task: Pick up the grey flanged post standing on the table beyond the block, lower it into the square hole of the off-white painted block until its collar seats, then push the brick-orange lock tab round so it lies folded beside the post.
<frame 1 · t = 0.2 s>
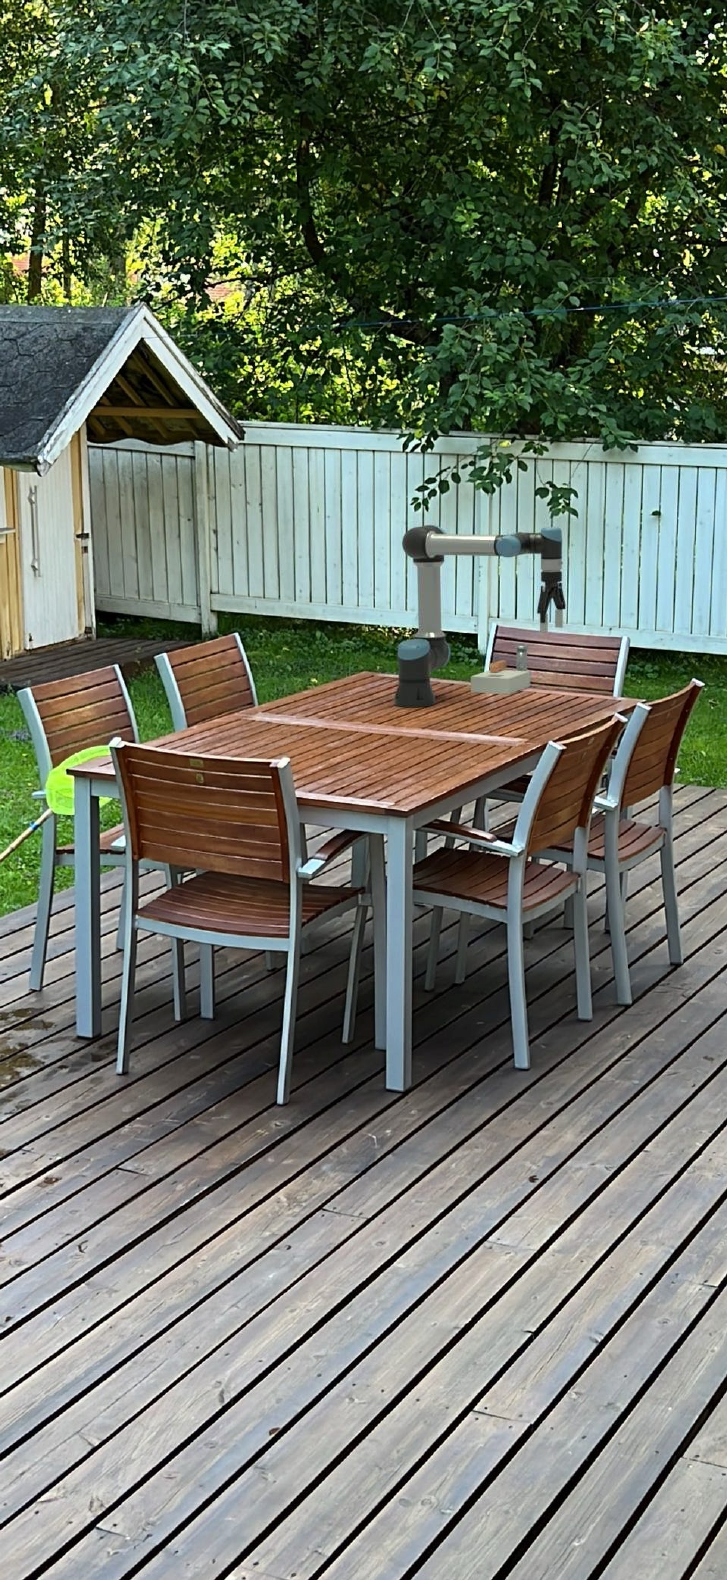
hand: (551, 629, 648), 28 cm above the table, fingers open, 13 cm apart
grey flanged post: (521, 683, 707), on the table
lock tab: (498, 666, 700), point 8 cm above the table, hinge at 90.0°
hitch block: (500, 689, 694), on the table
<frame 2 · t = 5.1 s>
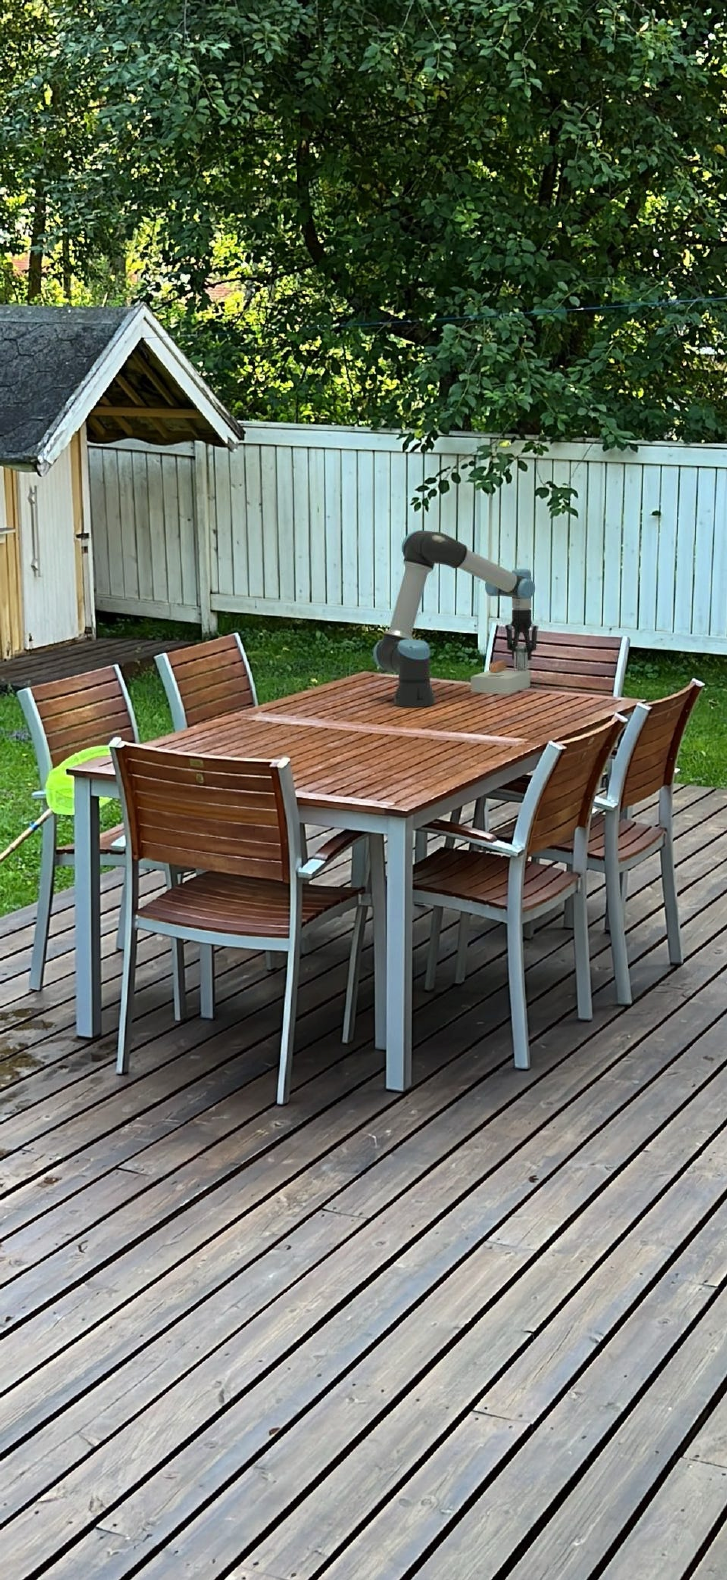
hand: (521, 668, 705), 6 cm above the table, fingers closed on grey flanged post, 4 cm apart
grey flanged post: (521, 683, 707), on the table, touching gripper
everything else where it was.
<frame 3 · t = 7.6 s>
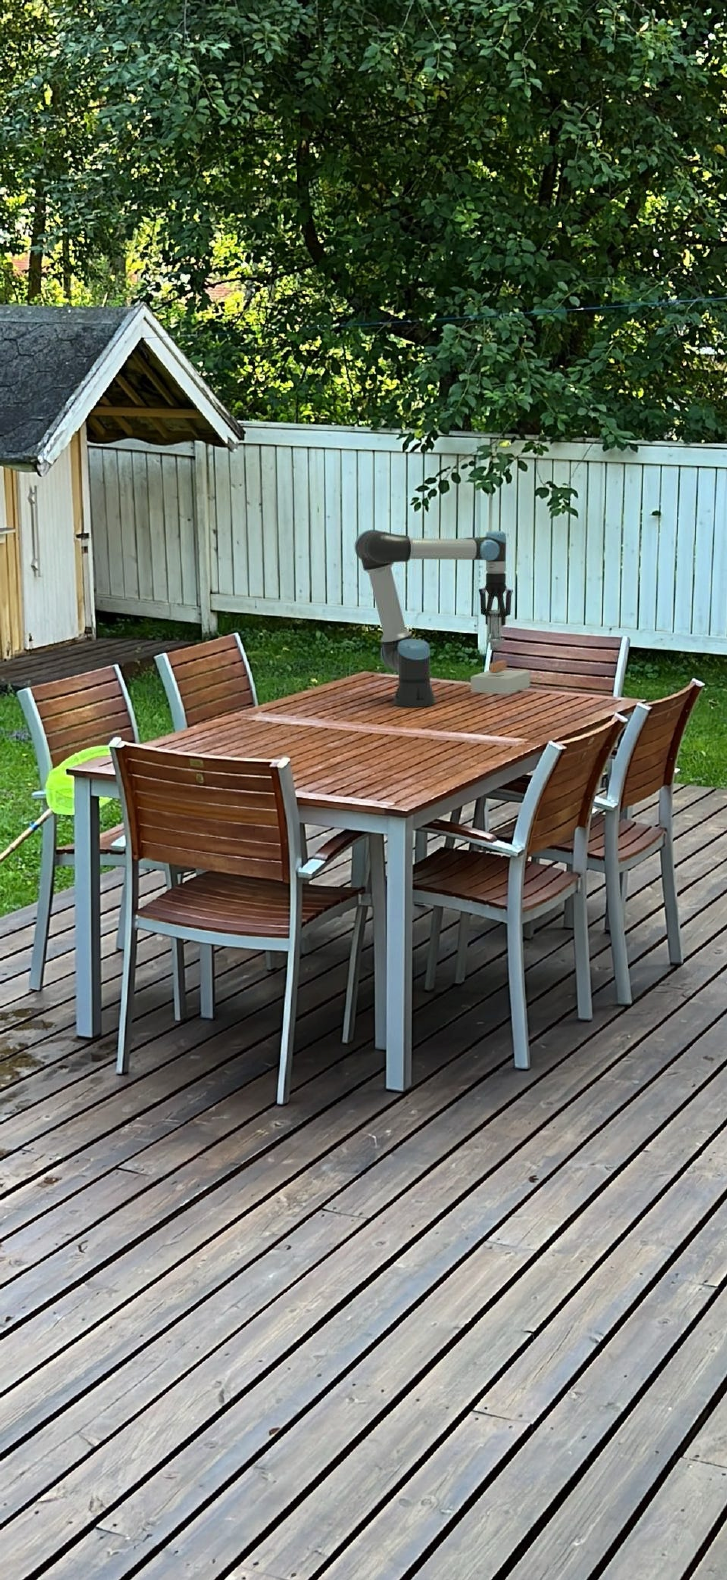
hand: (495, 633, 686), 22 cm above the table, fingers closed on grey flanged post, 4 cm apart
grey flanged post: (495, 649, 687), point 16 cm above the table, touching gripper
everything else where it was.
when the fingers open (10 cm above the table, at t = 10.5 s): grey flanged post stays where it is, resting on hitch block.
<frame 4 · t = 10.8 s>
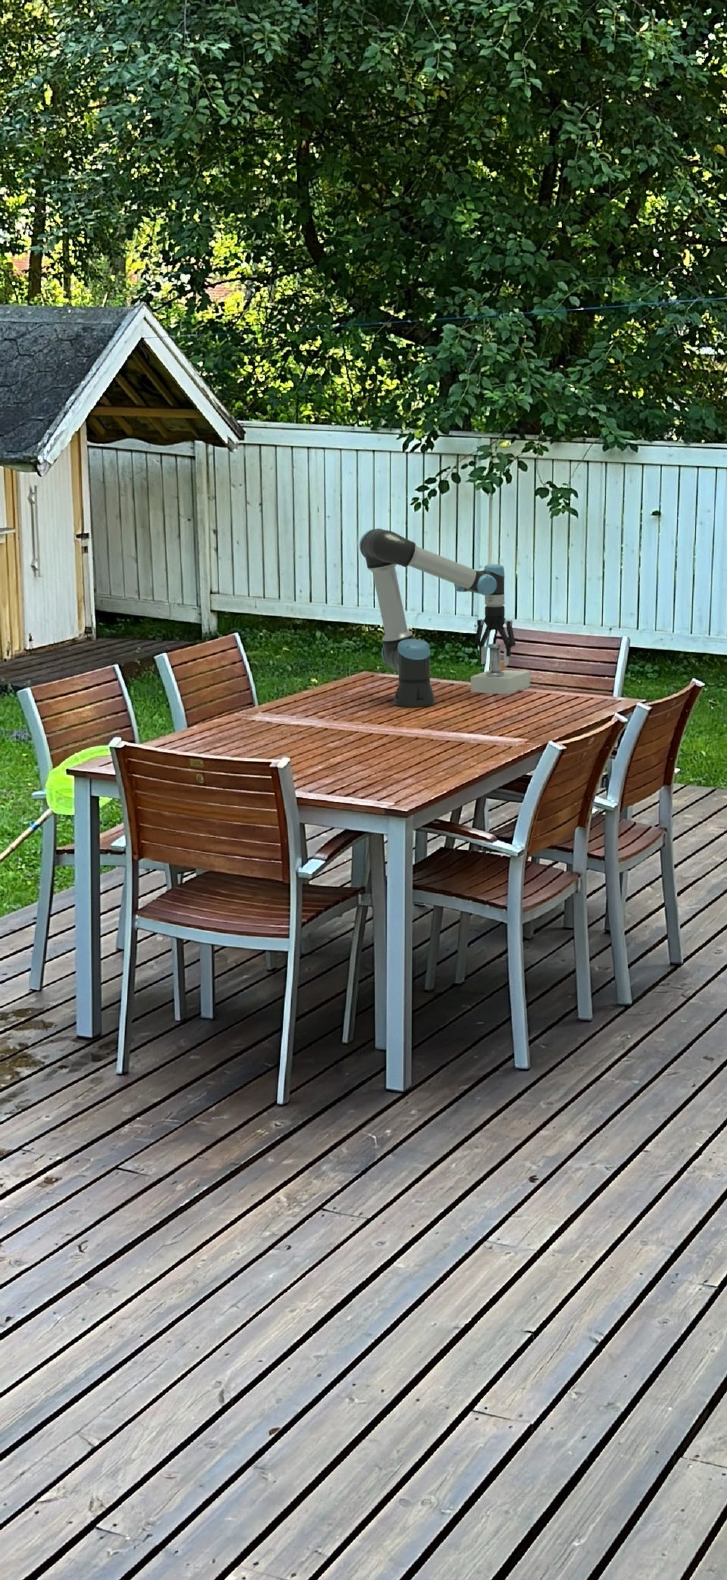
hand: (495, 664, 687), 10 cm above the table, fingers open, 9 cm apart
grey flanged post: (495, 683, 689), point 3 cm above the table, touching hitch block
everything else where it was.
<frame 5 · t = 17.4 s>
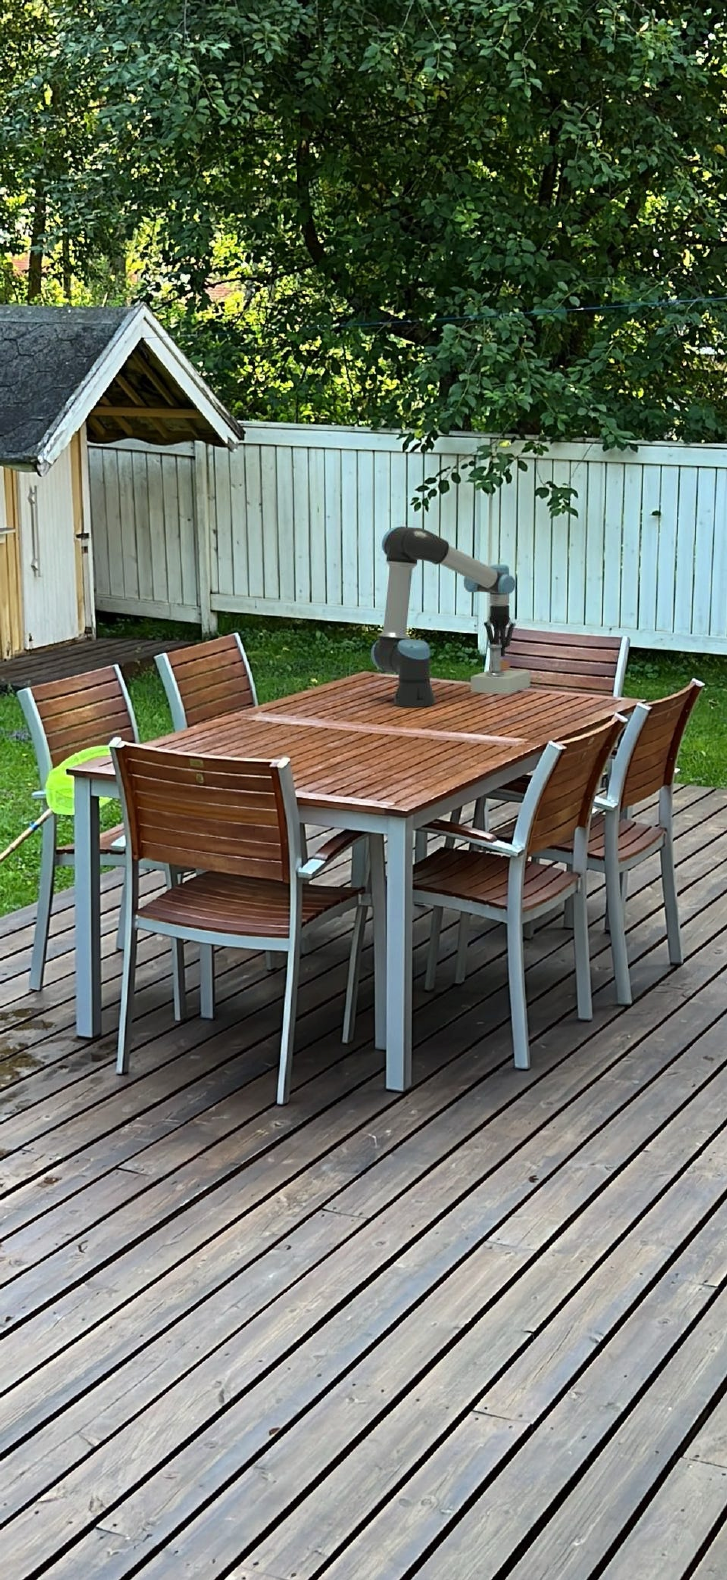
hand: (499, 664, 703), 8 cm above the table, fingers closed
lock tab: (499, 666, 699), point 8 cm above the table, hinge at 80.7°, touching gripper
everything else where it was.
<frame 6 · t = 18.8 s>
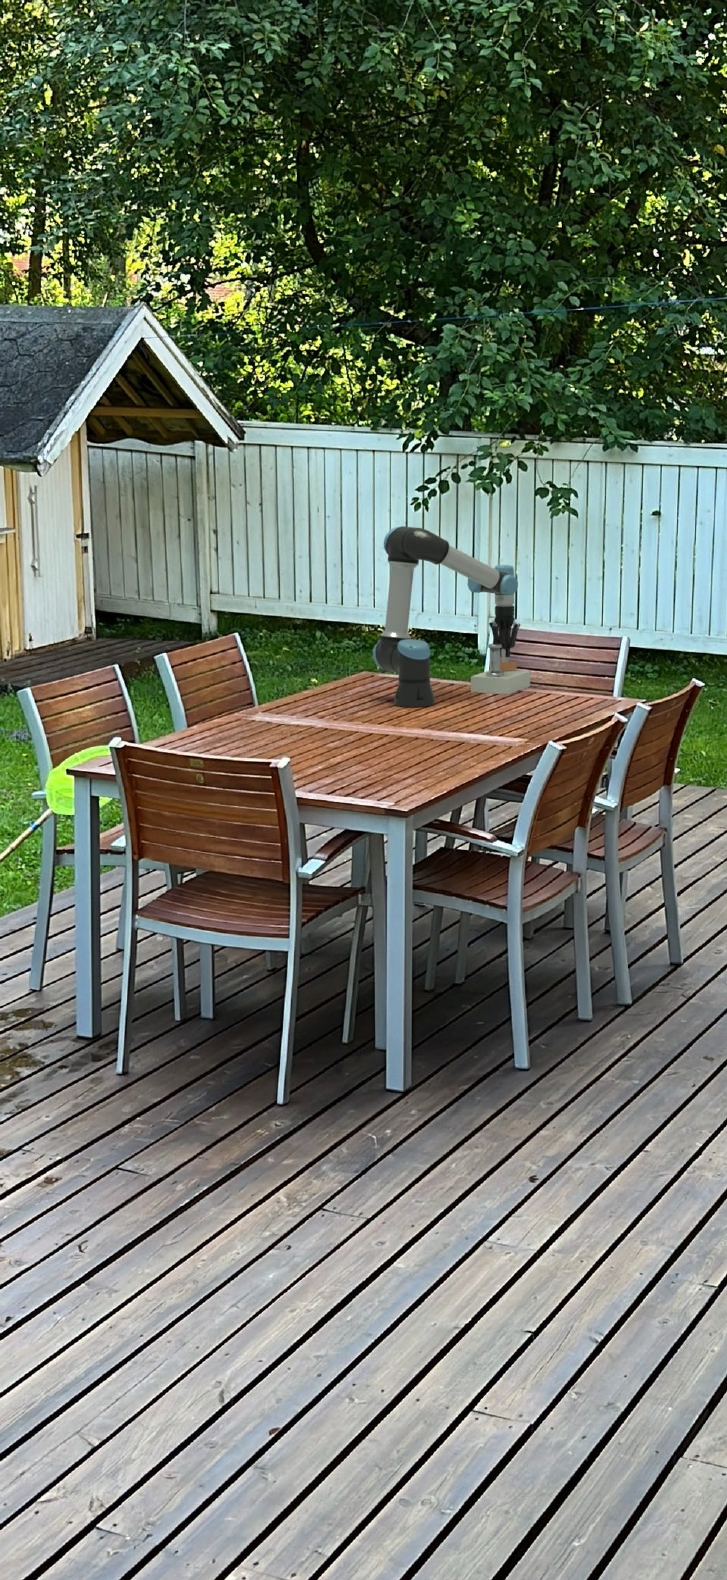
hand: (505, 665, 701), 8 cm above the table, fingers closed
lock tab: (502, 666, 698), point 8 cm above the table, hinge at 53.3°, touching gripper
everything else where it was.
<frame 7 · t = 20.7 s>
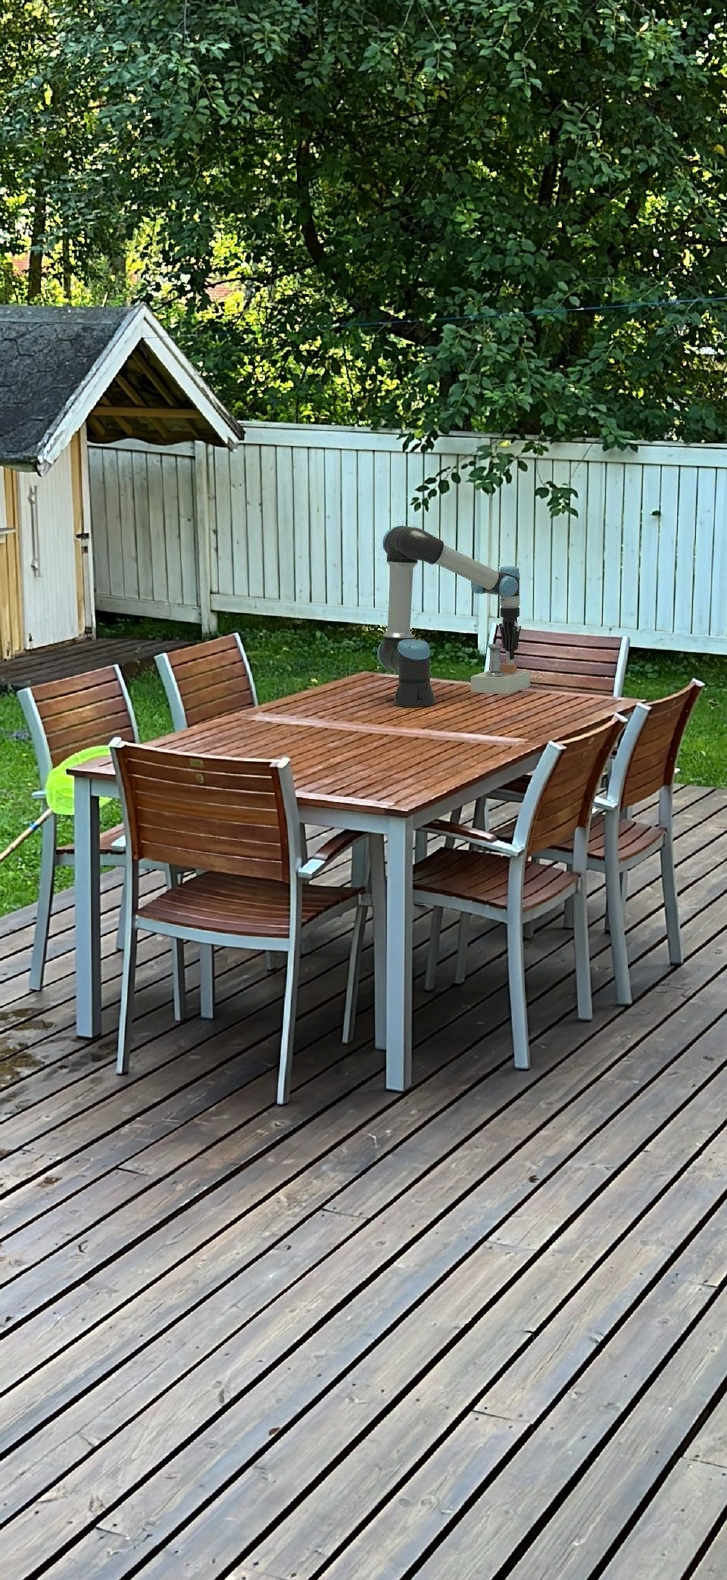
hand: (510, 667, 695), 8 cm above the table, fingers closed
lock tab: (502, 668, 694), point 8 cm above the table, hinge at -7.6°, touching gripper
everything else where it was.
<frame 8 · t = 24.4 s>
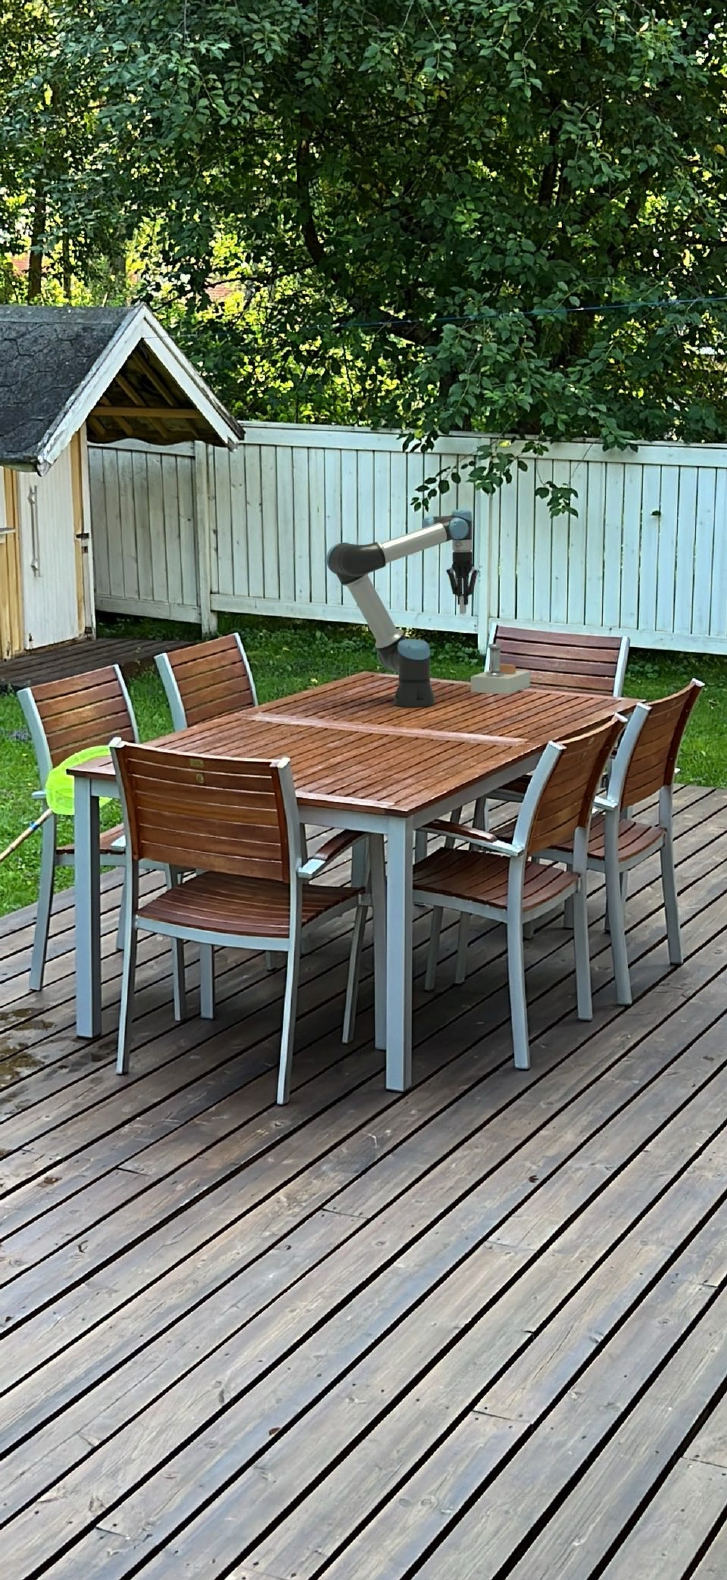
hand: (463, 613, 682), 30 cm above the table, fingers closed
lock tab: (502, 668, 694), point 8 cm above the table, hinge at -12.1°
everything else where it was.
at the end: grey flanged post 0.0 cm from the target spot on the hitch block, point 3.0 cm above the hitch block's base; grey flanged post tilted 0°; lock tab at -12° (first picture: +90°) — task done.
